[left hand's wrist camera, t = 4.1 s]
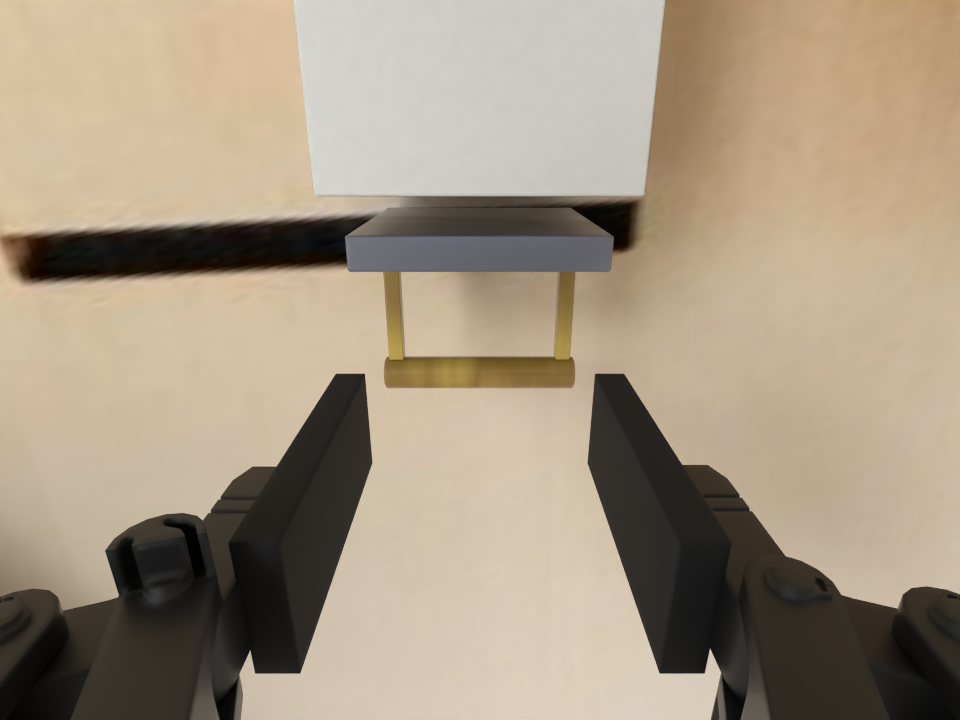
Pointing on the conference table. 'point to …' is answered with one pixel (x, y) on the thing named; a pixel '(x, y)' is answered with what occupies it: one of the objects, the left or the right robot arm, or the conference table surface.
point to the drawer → (479, 248)
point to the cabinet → (479, 96)
